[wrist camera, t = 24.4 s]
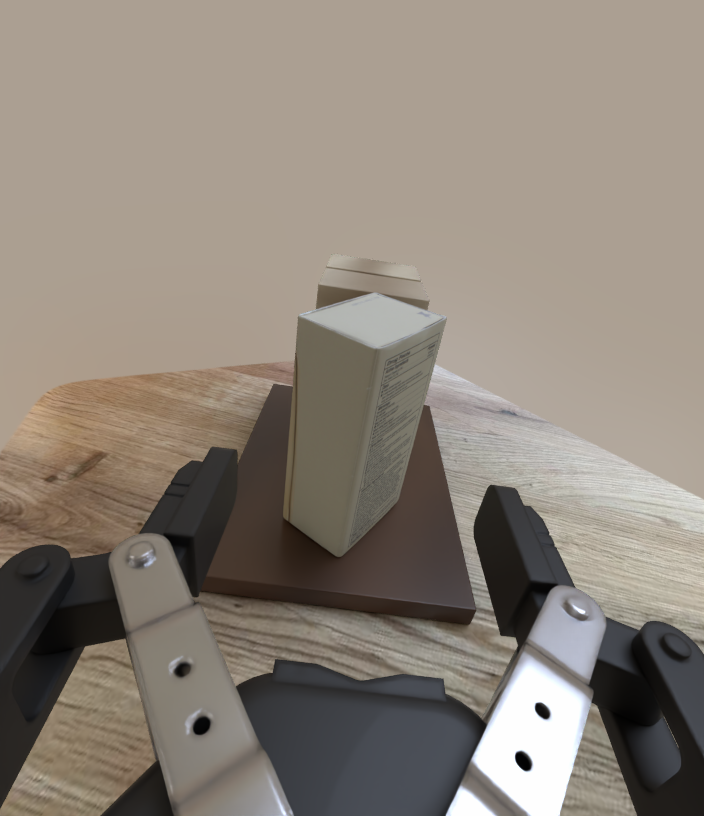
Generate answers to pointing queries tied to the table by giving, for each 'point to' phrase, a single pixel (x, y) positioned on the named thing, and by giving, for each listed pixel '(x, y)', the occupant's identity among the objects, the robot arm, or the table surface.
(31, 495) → the table surface
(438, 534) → the rack
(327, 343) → the cosmetic box
